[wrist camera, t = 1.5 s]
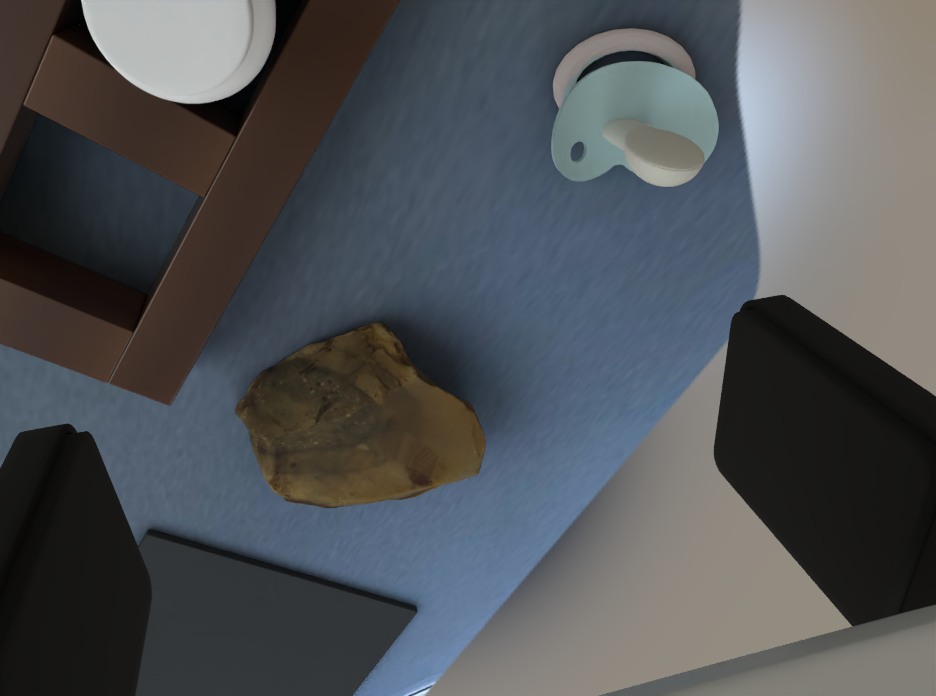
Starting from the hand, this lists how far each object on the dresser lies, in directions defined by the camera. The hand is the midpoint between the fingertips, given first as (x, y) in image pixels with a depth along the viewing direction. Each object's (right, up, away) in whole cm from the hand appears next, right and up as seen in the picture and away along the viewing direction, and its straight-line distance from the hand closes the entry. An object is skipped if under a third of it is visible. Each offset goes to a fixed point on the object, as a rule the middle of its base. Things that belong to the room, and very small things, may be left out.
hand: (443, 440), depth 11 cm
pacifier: (+7, +12, +21) cm, 25 cm away
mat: (-12, -16, +30) cm, 36 cm away
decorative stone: (-5, -2, +25) cm, 26 cm away
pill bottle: (-9, +14, +15) cm, 23 cm away
